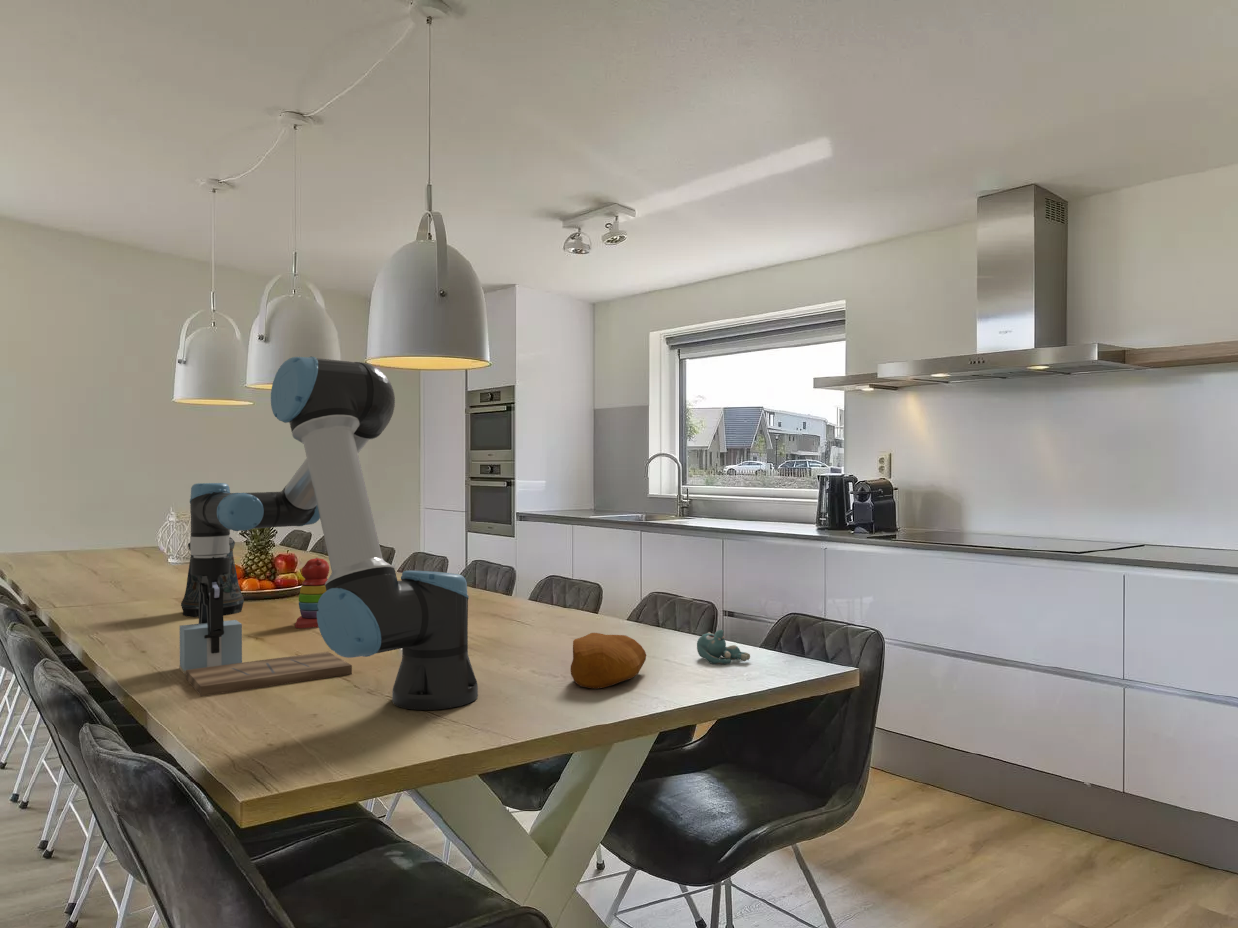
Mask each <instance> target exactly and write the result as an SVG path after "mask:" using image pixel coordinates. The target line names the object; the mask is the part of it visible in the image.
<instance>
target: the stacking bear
mask: <svg viewBox="0 0 1238 928" xmlns="http://www.w3.org/2000/svg"><path fill="white" fill-rule="evenodd" d="M299 573H300V575H301V576H302V577H303V579H304V580H303V581H302V583H301V584H302V585H301V587H300V591H299V594H298V601H297V602H298V608H299V613H300V616H298V617H297V619H296V621H295V624H294V628H295V629H314V628H319V627H318V622H317V611H318V610H319V609H318V607H317V605H318V601H319V599H320V597H321V596H322V594H323V593H325V592H326V587H325V583H326V581H327V580H328V578H329V573H330V563H328V561H327V560H326V559H324V558H319V557H315V558H310V559H309V560H307V562H306V563H305V564H304V565H303V566H302V567H301V568H300V570H299Z"/></svg>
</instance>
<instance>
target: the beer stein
mask: <svg viewBox="0 0 1238 928" xmlns="http://www.w3.org/2000/svg"><path fill="white" fill-rule="evenodd" d="M229 539H232V540H233V542H232V543H230V544H229V545H230V552H229V553H228V554H227V556H229V557H230V572H229V573H228V574H225V575H220V576H219V581H220V583H222V586H223V589H224V591H223V617H224V616H230V615H235V614H238V613H241V612H243V611H242V610H243V606H244V602H245V601H244V600H245V599H244V598H245V597H244V596H243V594H242V591H241V587H240V584H239V580H238V574H237V568H236V564H235V556H234V548H235V546H236V542H235V539H234V538H232V537H231V536H230V538H229ZM187 547H188V550H189V551H190V542H188V544H187ZM193 557H194V555H191V554H190V558H189V565H188V572H187V579H186V587H185V591H184V596H183V598H182V601H181V603H180V606H181V609H182V615H183V616H184V617H189V618H199V586H198V583H199V582H202V576H193V575H192V574H191V559H192V558H193Z"/></svg>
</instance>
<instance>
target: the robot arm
mask: <svg viewBox="0 0 1238 928" xmlns="http://www.w3.org/2000/svg"><path fill="white" fill-rule="evenodd" d="M395 403H396V398H395V392H394V389H393V386H392V383H391V381H390V380H389V379H388V377H387V375H386V374H385V373H384V372H382V371H381V370H380V368H377V367H376V366H373V365H372V364H369V363H367V362H362V361H361V362H360V361H347V360H337V359H329V358H328V359H327V358H319V357H315V356H307V357H306V356H305V357H304V356H293V357H290V358H288V359H286V360H285V361H284V362H283V363H282V364H281V365H280V366H279V368H278V369H277V371H276V373H275V376H274V378H273V382H272V385H271V392H270V407H271V410H272V414H273V416H274V417H275V418H276V419H277V420H278V421H280V422H282V423H285V424H287V423H289V426H290V430H291V435H292V438H293V439H295V440H296V441H298V442H300V443H301V444H302V445H303V447H304V448H303V449H304V451H305V457H306V459H304V461H303V462H302V463H301V465H300V466H299V468H298V470H296V472H295V473H294V474H293V476H292V477H291V479H290V480H289V481H288V482H287V484H286V485H285V486H284V487H283V488H282V490H280V491H266V492H265V491H264V492H258V491H257V492H231V491H230V486H229V484H228V483H226V482H206V483H205V482H204V483H202V482H201V483H200V482H198V483H194V484H193V485H192V486H191V487H190V499H189V503H190V505H189V506H190V507H189V509H190V510H189V511H190V513H189V514H190V537H189V538H190V539H189V543H190V550H189V551H190V553H189V554H190V556H191V555H194V557H193V558H192V559H191V574H192V575H193V576H202V582H199V583H198V586H199V617H198V623H197V624H200V623H207V626H208V635H205V636H204V638H207V667H213V666H220V665H222V647H221V637H222V635H223V634H224V623H223V621H224V616H223V591H224V589H223V586H222V583H220V581H219V576H220V575H225V574H228V573H229V572H230V557H229V556H227V554H228V553H229V552H230V545H229V544H230V543H232V542H233V540H234V539H233V538H232V539H233V540H232V539H229V538H230V537H231V535H230V534H231V531H233V532H239V531H242V532H243V531H249V530H252V529H268V528H280V527H281V528H282V527H284V528H285V527H304V526H309V525H314V524H317V522H318V521H319V520H320V525H321V529H322V533H323V537H324V542H325V543H324V544H325V547H326V550H327V551H326V552H327V556H328V560H329V566H330V569H331V574H330V575H329V576H328V577H327V579H328V580H327V581H326V583H325V587H326V592H325V593H323V594H322V596H321V597H320V599H319V601H318V605H317V607H318V609H319V610H318V611H317V622H318V627H317V628H318V630H319V632H320V636H321V637H322V639H323V641H324V642H325V644H326V645H327V646H328V648H329V649H330V650H331V651H333V652H335V654H337V655H339V656H340V657H341V658H346V659H347V658H348V659H349V658H351V659H352V658H353V659H354V658H359V657H364V658H367V657H371V656H374V655H375V654H380V653H385V652H390V651H391V652H392V651H395V650H401V649H402V651H401V652H402V655H401V656H402V657H401V661H400V664H399V667H398V671H397V674H396V677H395V681H394V683H393V687H392V691H391V692H392V695H391V697H392V704H393V705H395V706H396V707H399V708H402V709H408V710H419V711H420V710H421V711H432V710H433V711H434V710H435V711H436V710H445V709H453V708H457V707H461V706H465V705H467V704H471V703H472V702H474V701H475V700H478V696H479V694H478V693H479V686H478V685H479V684H478V680H477V679H476V676H475V673H474V670H473V666H472V663H471V660H470V657H469V647H468V646H469V644H468V643H469V641H468V640H469V639H468V637H469V634H468V632H469V630H468V627H469V624H468V623H469V622H468V621H469V620H468V619H469V617H468V616H469V614H468V613H469V612H468V611H469V595H468V584H467V580H466V578H465V576H463V575H462V574H460V573H459V574H458V573H452V572H445V571H444V572H442V571H431V570H430V571H428V570H411V569H409V570H403V571H402V574H401V576H400V580H398V578H397V573H396V568H395V566H394V565H392V564H390V563H389V562H386V561H385V559H384V558H383V554H382V549H381V545H380V542H379V537H378V533H377V528H376V524H375V521H374V520H375V519H374V517H373V511H372V508H371V503H370V499H369V494H368V490H367V487H366V481H365V477H364V474H363V470H362V465H361V461H360V457H359V454H360V452H361V451H362V449H363V448H364V447H365V446H366V444H367V443H368V442H369V441H370V440H375V439H377V438H379V436H380V435H381V434H382V433H383V432H384V431H385V430H386V428H387V426H388V425H389V424H390V421H391V420H392V417H393V415H394V413H395V412H394V411H395V407H396V405H395ZM216 629H218V630H216Z"/></svg>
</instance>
